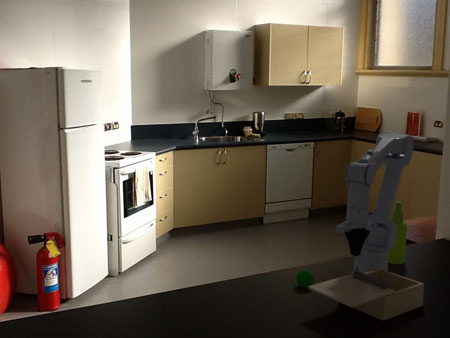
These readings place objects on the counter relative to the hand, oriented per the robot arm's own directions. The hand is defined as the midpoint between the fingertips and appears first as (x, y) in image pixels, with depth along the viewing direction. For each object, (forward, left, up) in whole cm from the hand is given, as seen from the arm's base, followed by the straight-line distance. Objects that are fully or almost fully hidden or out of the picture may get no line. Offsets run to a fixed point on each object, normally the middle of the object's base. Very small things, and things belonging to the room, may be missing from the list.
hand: (355, 255), depth 147 cm
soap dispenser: (-10, +32, -11) cm, 36 cm away
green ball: (-10, -9, -11) cm, 17 cm away
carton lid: (+10, -13, -4) cm, 17 cm away
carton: (+10, -1, -10) cm, 14 cm away
